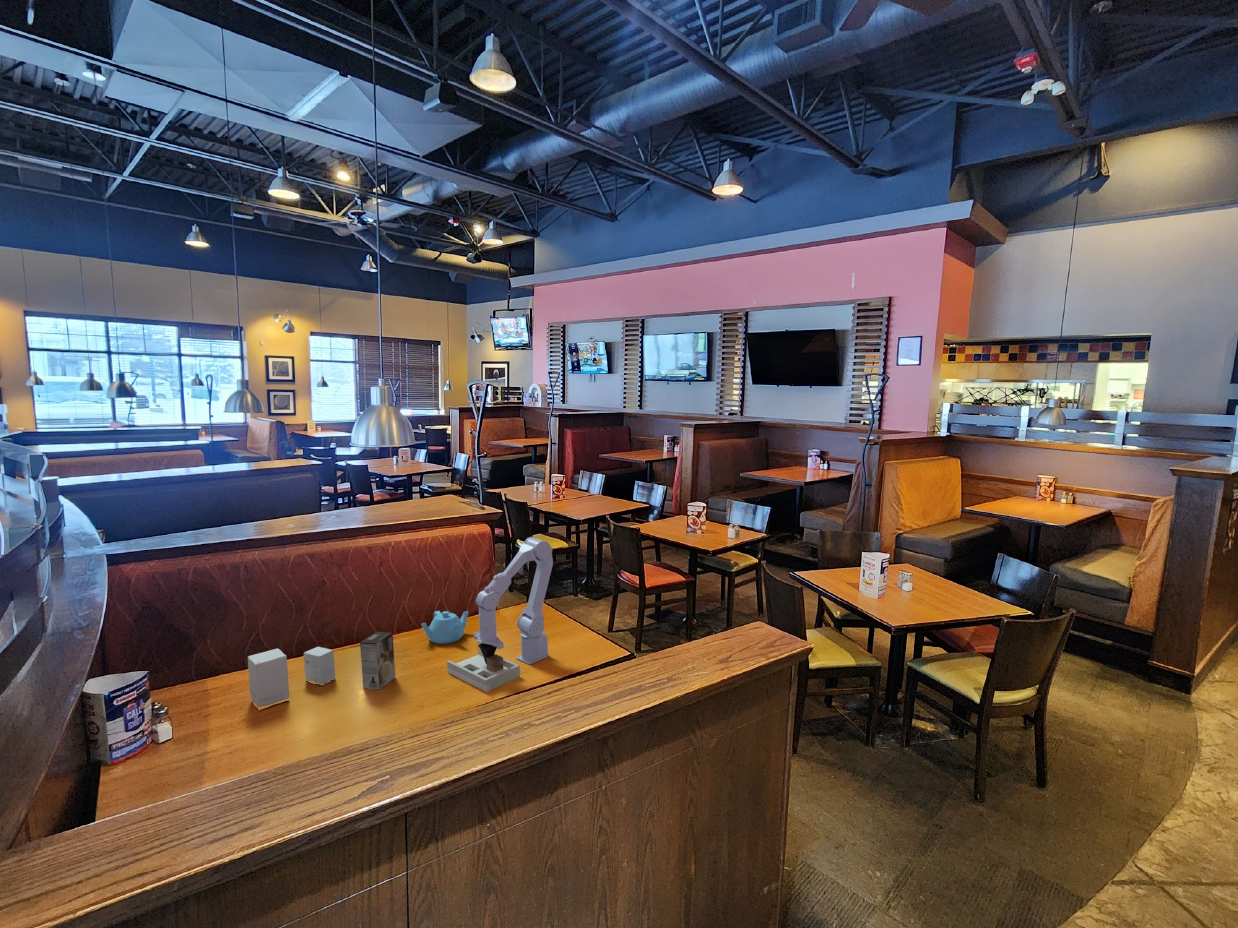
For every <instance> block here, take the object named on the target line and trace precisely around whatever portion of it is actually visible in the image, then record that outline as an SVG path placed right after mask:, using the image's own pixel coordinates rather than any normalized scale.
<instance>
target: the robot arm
mask: <svg viewBox="0 0 1238 928" xmlns="http://www.w3.org/2000/svg"><path fill="white" fill-rule="evenodd" d="M533 561H535V563H536V569H535V573H534V575H533V576H534V577H533V582H532V585H531V589H530V593H529V597H528V602H527V605H526V607H525V608H523V609H522V611H521V614H520V616H519V617H518V619H517V622H516V625H517V626H516V627H517V629H519V630H520V649H521V650H520V651H521V653H520V655H519V656H516V660H519V661H521V662H523V663H525V664H528V665H532V664H535V663H537V662H539V661H541V660H544V659H546V658H548V657H550V654H549V649H548V648H549V647H548V645H549V643H548V641H549V640H548V635H547V634H546V632H545V631H544V630H545V624H544V622H545V621H544V620H545V615H544V613H543V606H544V603H545V602H544V601H545V598H546V593H547V589H548V585H549V581H550V578H551V577H550V576H551V574H552V569H553V565H554V559H553V547H552V546H551V544H550V543H549V542H548V541H545V540H543V539H539V538H537V537H534V536H529V537H527V538H526V539H525V541H524V542H523V543H522V544H521V545H520V546H519V550H518V552H517V553H516V554H515V556H514V557H513V559H512V560H511V561H510V563H509V564H508V566H507V567H506V568H505V570H504V571H503V572H499V573H497V574H495V575H494V576H493V577H492V580H491V581H490V582H489V584H488V585H487V586H486V587H484V589H483V590H481V591H480V592H479V593H478V594H477V596H476V598H475V604H476V605H477V606H478V626H479V627H478V628H479V631H477V632H474V633H473V640H477V643H478V644H477V645H478V649H480V650H481V652H482V654H483V657H484V660H485V663H486V658H488V657H490V656H493V655H494V654H496V652H497V650H501V649H504V644H505V643H504V641H502V640H501V639H500V638H499V637H498V636H497V635H498V633H497V609H496V608H497V607H498V606H499V603H500V602H499V601H500V598H501V597H502V595H504V593H505V591H506V590H508V588H509V587H510V586H511V584H512V578H513V577H514V576H515V575H516V574H517V572H519V570H520V569H521V568H522V567H523V566H524V565H525V564H526V563H528V562H533Z"/></svg>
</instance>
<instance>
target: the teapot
mask: <svg viewBox="0 0 1238 928" xmlns="http://www.w3.org/2000/svg"><path fill="white" fill-rule="evenodd" d="M468 616H469V611H468V610H466V611H463V613H462V615H461V617H460V618H459V616H457V614H455V613H452V612H450V611H449V610H448V611H447V610H446V611H442V612H441V611H440V610H436V611H434V613H433V620H432V621H431V623H430V625H429V626H428V625H427V623H426V622H422V623H421V627H422V629H423V631H424V633H425V635H426V637H427V638H428V639H429V640H430V641H431V642H432V643H434V644H438V645H445V644H447V645H448V644H452V643H455V642H457V641H459V640H460V639H461V638H463V636H464V634H465V629H466V625H467V622H468V621H467V620H468Z"/></svg>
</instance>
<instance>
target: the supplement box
mask: <svg viewBox="0 0 1238 928" xmlns="http://www.w3.org/2000/svg"><path fill="white" fill-rule="evenodd" d="M247 668H248V679H249V693H250V700H251V699H252V700H253V702H254V703H255V704H256V705H257V707H262V706H267V705H270V704H273V703H276V702H279V701H282V700H285V699H288V698H290V687H289V676H288V675H289V673H288V672H289V671H288V669H289V668H288V658H287V655H286V654H285V653H283V651H282V650H281V649H279V648H274V649H271V650H267V651H263V652H258V653H255V654H252V655H248V656H247Z"/></svg>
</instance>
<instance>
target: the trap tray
mask: <svg viewBox="0 0 1238 928" xmlns="http://www.w3.org/2000/svg"><path fill="white" fill-rule="evenodd" d="M495 654H496V653H495ZM495 654H494V655H495ZM446 665H447V673H448V674H449V675H452V676H454V677H455V678H457V679H459V680H461V681H464V682H466V683H467V684H469V685H471V686H472V687H474V688H477V689H478V690H481V691H483V692H485V693H487V692H490V691H492V690H495V689H496V688H498V687H502V686H503V685H505V684H508V683H510V682H511V681H513V680H515V679H516V680H517V679H518V678H520V677H521V673H520V672H521V671H520V670H521V667H520V665H519V664H517V663H516V662H513V661H511V660H508V659H506V658H504V657H503V669H501V670H499V671H496V672H491V671H489V670H487V664H486V663H485V660H484V657H483V654H482V652H481V650H480V648H478V654H476V655H474V656H472V657H469V658H466V659H464V660H462V661H458V662H453V660H447V661H446Z"/></svg>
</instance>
